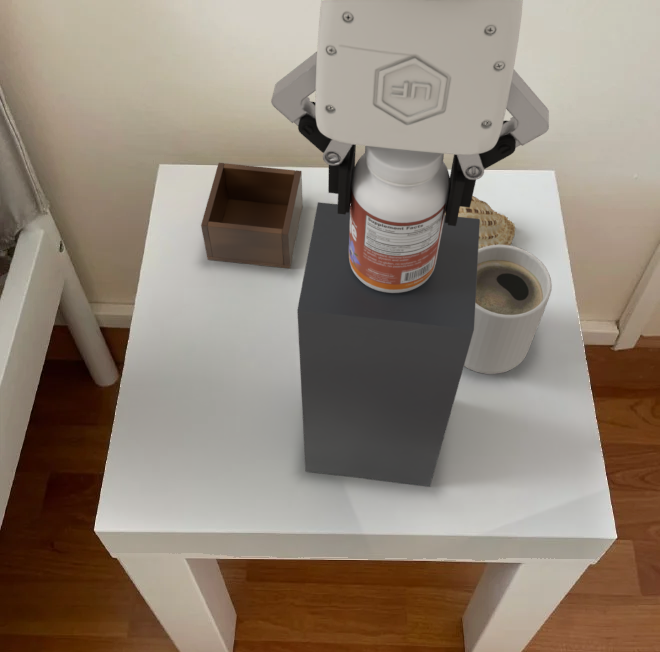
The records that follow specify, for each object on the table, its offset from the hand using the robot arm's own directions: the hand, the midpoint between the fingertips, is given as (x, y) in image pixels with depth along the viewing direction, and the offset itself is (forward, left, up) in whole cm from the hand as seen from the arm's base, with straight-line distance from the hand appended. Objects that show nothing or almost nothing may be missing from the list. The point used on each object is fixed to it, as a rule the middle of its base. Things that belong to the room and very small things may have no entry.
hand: (398, 201), depth 52 cm
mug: (+10, +14, -32) cm, 36 cm away
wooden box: (-16, +24, -32) cm, 43 cm away
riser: (0, 0, -32) cm, 32 cm away
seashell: (+8, +27, -32) cm, 42 cm away
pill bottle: (0, 0, -6) cm, 6 cm away
